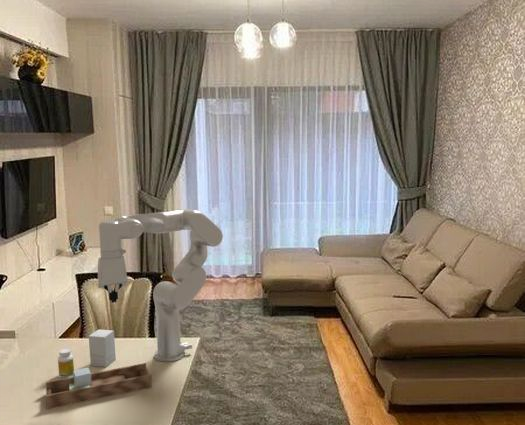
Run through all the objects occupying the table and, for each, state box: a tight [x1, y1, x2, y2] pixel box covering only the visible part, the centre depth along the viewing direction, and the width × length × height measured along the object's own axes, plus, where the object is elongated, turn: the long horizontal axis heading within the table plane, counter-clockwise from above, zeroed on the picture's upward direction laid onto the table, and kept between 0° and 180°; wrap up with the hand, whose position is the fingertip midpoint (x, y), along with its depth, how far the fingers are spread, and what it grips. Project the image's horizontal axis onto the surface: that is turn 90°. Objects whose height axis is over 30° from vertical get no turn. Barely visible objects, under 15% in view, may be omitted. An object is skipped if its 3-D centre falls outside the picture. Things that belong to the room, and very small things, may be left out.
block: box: [73, 367, 92, 388], centre depth 169 cm, size 5×5×6 cm
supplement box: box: [88, 329, 117, 368], centre depth 194 cm, size 7×7×13 cm
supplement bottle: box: [57, 348, 75, 379], centre depth 184 cm, size 5×5×10 cm
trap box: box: [45, 362, 153, 410], centre depth 172 cm, size 35×11×5 cm, turn 114°
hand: (113, 301), depth 181 cm, fingers closed
